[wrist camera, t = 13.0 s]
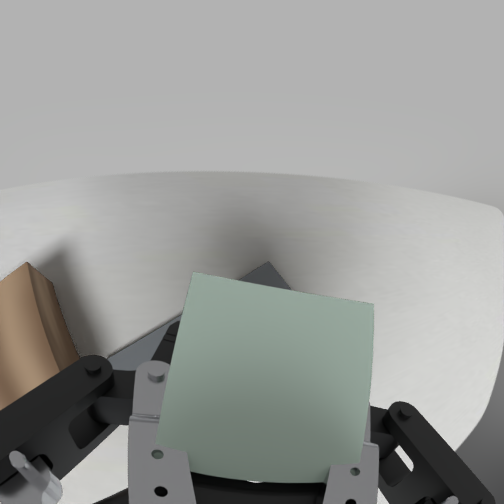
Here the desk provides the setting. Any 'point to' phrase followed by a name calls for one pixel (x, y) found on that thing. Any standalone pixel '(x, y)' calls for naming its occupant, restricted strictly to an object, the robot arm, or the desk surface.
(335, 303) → the sage block
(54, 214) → the desk surface
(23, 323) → the walnut block
